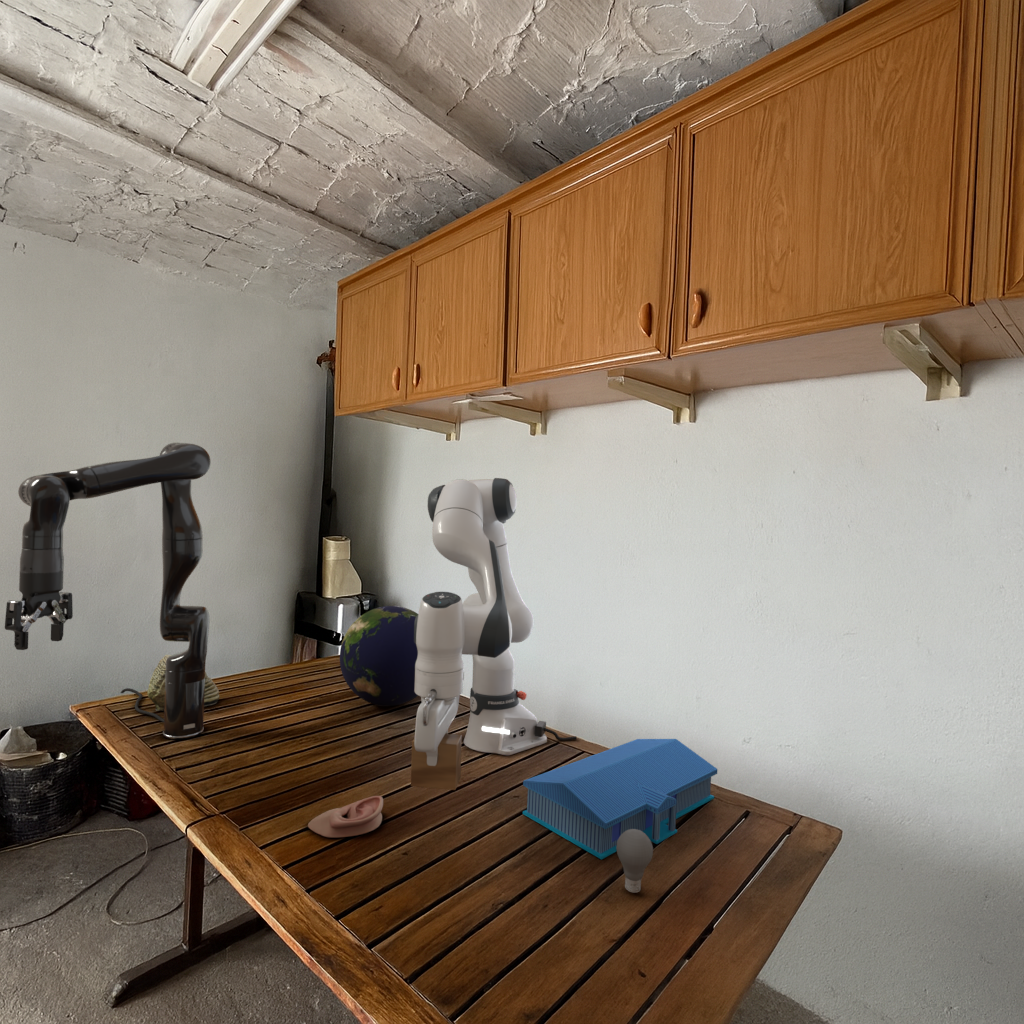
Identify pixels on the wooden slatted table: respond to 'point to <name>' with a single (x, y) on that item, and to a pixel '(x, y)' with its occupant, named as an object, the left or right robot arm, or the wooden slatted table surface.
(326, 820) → the anatomical model
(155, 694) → the fossil
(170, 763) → the wooden slatted table surface
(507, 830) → the wooden slatted table surface
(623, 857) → the light bulb
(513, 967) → the wooden slatted table surface
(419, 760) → the block
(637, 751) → the model building
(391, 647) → the globe
